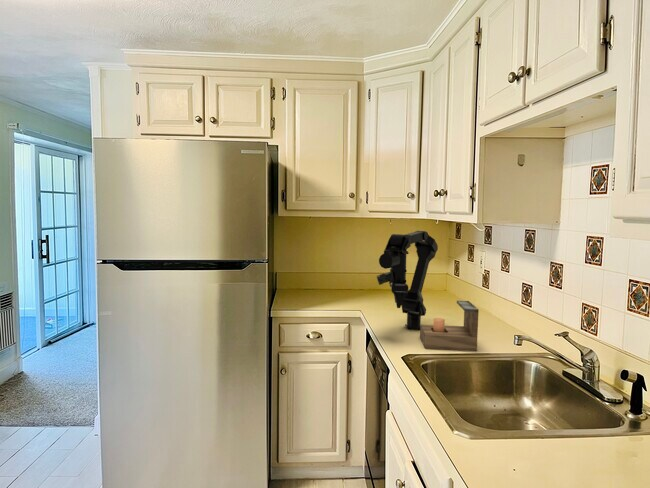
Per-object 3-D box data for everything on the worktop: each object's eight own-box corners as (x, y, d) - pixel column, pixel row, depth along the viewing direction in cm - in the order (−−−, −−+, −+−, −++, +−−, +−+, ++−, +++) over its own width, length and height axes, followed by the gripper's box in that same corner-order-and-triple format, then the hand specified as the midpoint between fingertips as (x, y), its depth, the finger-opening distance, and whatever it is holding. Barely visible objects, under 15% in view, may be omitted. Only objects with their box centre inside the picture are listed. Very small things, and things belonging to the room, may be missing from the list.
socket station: (419, 336, 161) (421, 299, 160) (467, 339, 159) (468, 300, 158) (425, 348, 147) (426, 307, 146) (476, 351, 146) (478, 309, 144)
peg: (432, 338, 156) (432, 318, 155) (443, 339, 155) (443, 318, 155) (434, 342, 152) (434, 320, 151) (445, 342, 151) (445, 321, 151)
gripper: (377, 262, 171) (376, 299, 172) (378, 268, 152) (377, 310, 154) (404, 263, 170) (403, 300, 171) (409, 269, 151) (407, 311, 153)
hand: (397, 305), depth 162 cm, fingers open, 9 cm apart
